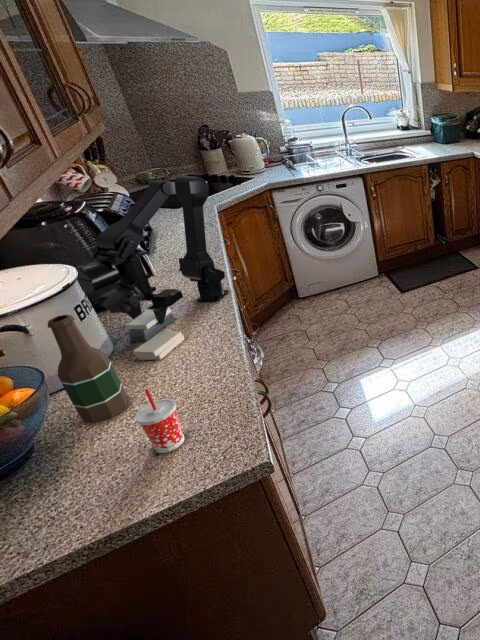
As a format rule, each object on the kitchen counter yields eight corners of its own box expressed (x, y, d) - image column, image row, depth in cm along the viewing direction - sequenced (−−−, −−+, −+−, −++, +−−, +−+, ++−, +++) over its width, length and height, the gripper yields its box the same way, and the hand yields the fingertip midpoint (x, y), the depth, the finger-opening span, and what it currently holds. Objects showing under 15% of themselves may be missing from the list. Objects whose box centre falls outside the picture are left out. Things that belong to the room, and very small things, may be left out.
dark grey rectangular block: (160, 319, 123) (156, 309, 121) (175, 319, 123) (172, 309, 122) (129, 341, 113) (125, 331, 111) (146, 341, 113) (142, 331, 112)
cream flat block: (162, 339, 114) (159, 330, 113) (185, 338, 114) (182, 330, 113) (135, 361, 105) (131, 352, 104) (159, 360, 106) (156, 352, 104)
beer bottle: (89, 430, 85) (36, 334, 75) (76, 414, 89) (24, 321, 79) (136, 406, 91) (92, 315, 81) (122, 393, 95) (79, 304, 85)
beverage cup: (180, 453, 81) (155, 399, 75) (144, 458, 79) (116, 403, 74) (194, 429, 86) (173, 376, 80) (161, 433, 85) (137, 380, 79)
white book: (152, 311, 121) (150, 307, 120) (171, 311, 121) (170, 307, 120) (127, 329, 112) (125, 325, 112) (147, 329, 113) (146, 325, 112)
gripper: (67, 289, 103) (92, 340, 109) (143, 289, 104) (164, 340, 110) (105, 269, 113) (126, 317, 120) (175, 270, 114) (192, 317, 120)
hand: (151, 323), depth 117 cm, fingers closed on white book, 5 cm apart
